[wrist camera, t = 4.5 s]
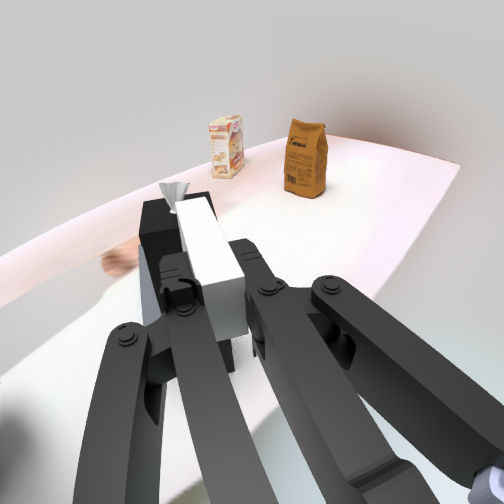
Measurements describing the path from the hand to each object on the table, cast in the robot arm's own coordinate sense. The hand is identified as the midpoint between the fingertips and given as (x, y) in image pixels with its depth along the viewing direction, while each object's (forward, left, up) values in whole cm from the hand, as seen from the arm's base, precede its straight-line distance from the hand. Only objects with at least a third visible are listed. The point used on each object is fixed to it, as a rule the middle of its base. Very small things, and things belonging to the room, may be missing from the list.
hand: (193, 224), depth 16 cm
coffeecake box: (+24, +94, -32) cm, 103 cm away
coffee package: (+41, +68, -32) cm, 86 cm away
